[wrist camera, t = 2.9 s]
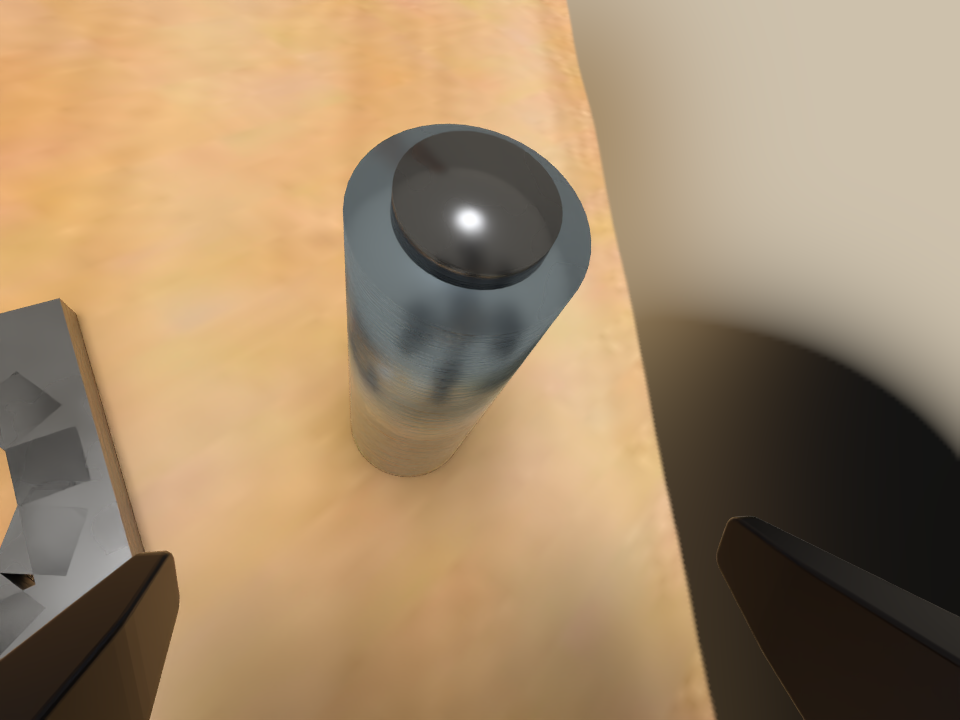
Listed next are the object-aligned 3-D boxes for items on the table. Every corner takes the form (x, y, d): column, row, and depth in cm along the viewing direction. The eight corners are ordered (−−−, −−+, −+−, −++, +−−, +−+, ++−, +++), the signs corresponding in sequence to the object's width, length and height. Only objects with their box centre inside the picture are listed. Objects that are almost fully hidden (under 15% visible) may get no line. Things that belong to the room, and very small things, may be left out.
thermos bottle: (482, 448, 21) (652, 267, 9) (378, 496, 20) (413, 356, 7) (435, 353, 22) (528, 81, 10) (333, 392, 21) (300, 122, 9)
